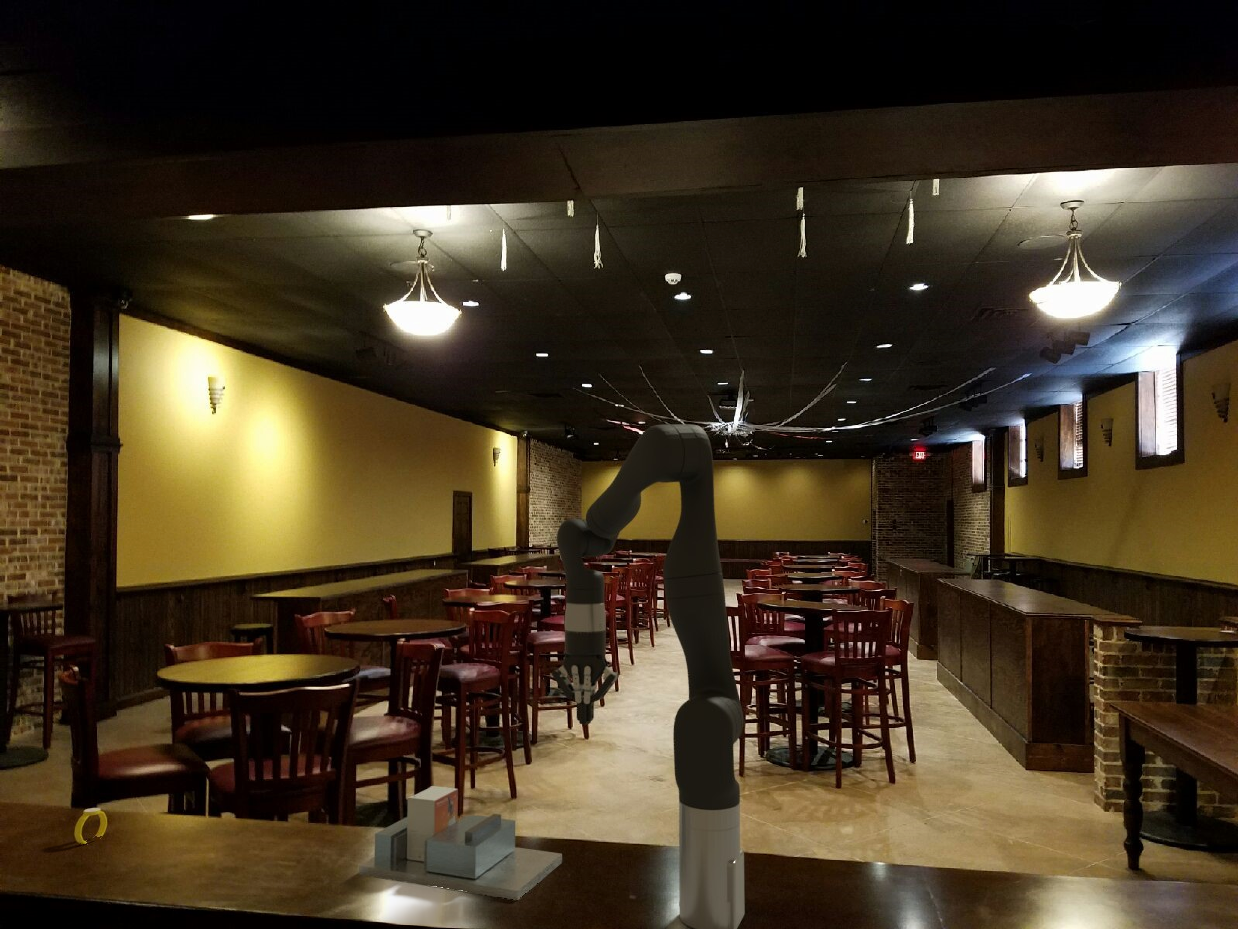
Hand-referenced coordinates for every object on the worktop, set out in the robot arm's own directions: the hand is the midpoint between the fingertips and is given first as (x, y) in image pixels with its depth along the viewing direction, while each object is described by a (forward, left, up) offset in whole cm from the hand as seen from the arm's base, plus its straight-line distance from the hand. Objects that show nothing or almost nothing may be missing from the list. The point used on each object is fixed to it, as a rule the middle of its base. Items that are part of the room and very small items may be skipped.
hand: (585, 723), depth 160 cm
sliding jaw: (+15, +14, -21) cm, 30 cm away
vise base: (+16, +14, -23) cm, 31 cm away
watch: (+89, +27, -23) cm, 96 cm away
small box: (+23, +14, -22) cm, 35 cm away
